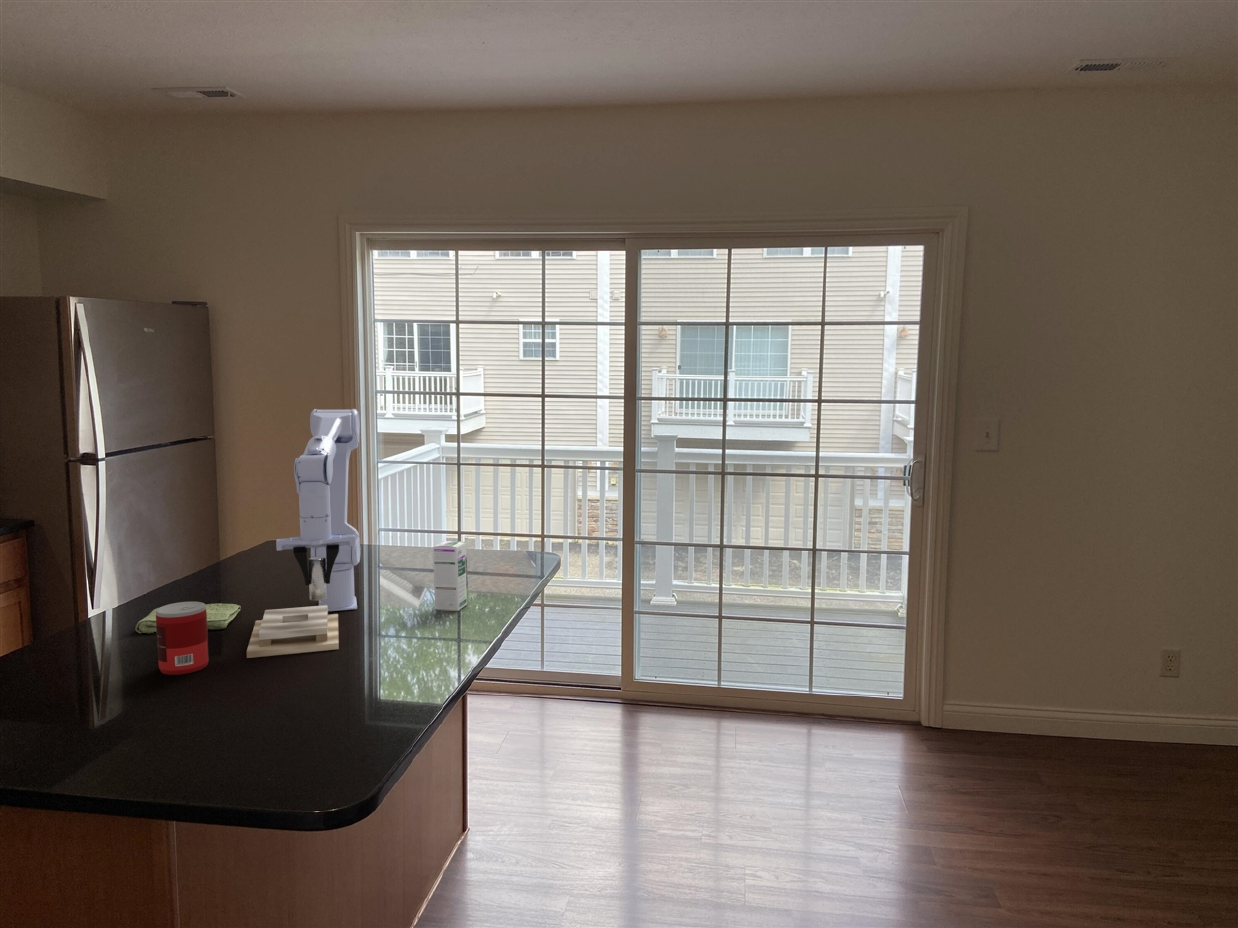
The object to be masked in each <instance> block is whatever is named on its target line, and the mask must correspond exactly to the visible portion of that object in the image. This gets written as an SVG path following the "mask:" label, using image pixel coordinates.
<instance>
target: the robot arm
mask: <svg viewBox="0 0 1238 928" xmlns="http://www.w3.org/2000/svg"><path fill="white" fill-rule="evenodd" d="M309 417H310V418H309V425H310V426H309V429H310V433H311V435H312V437H311V438H310V439H309V440H308V442H307V445H306V446H305V449H304V450H303V451H304V452H303V454H302V455H299V457H295V460H294V464H293V474H294V481H295V486H296V487H295V488H296V494H298V501H299V502H298V503H299V505H298V507H299V508H298V509H299V528H300V529H299V530H300V532H299V533H300V536H295V537H294V536H293V537H287V538H285V537H284V538H277V539H276V542H275V544H276V545H275V548H276V551H283V550H292V551H293V552H292V553H293V557H294V558H295V560H296V562H297V563H298V565H299V567H300V570H301V573H302V575H303V576H302V577H303V579H304V585H305V586H309V562H308V559H309V558H308V549H310V558H315V557H324V558H326V585H327V598H326V599H324V600H318V606H323V605H327V606H328V612H336V611H348V610H349V611H350V610H357V609H358V604H357V596H355V569H354V567H355V566H357V565H358V564H359V563H360V561H361V542H360V541H361V539H360V533H359V531H358V530H357V529H356V527H354V526H352V525H351V524H350V523H348V503H349V502H348V498H349V496H348V495H349V493H348V492H349V463H350V462H349V461H350V457H351V453H352V451H354V450H356V449H357V448H358V447H359V443H360V428H361V426H360V425H361V424H360V423H361V422H360V413H359V411H358V410H357V408H351V409H317V408H314V409H313V410H312V411H311V413H310V416H309Z"/></svg>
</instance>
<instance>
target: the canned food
mask: <svg viewBox="0 0 1238 928" xmlns="http://www.w3.org/2000/svg"><path fill="white" fill-rule="evenodd" d="M157 608H158V609H157V610H156V630H157V633H156V642H157V656H158V658H157V659H158V669H159V671H160V672H161V673H162V674H163V675H169V676H179V675H188V674H191V673H195V672H198V671H199V672H200V670H203V669H204V668H206V667H207V666H208V664H209V659H210V658H209V657H210V656H209V655H210V653H209V636H208V635H209V634H208V632H209V631H208V629H207V613H206V604H205V603H204V602H200V601H181V602H174V603H169V604H166V605H163V606H161V607H157Z"/></svg>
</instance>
